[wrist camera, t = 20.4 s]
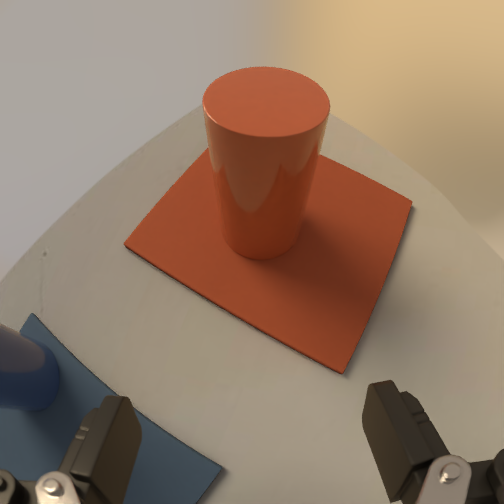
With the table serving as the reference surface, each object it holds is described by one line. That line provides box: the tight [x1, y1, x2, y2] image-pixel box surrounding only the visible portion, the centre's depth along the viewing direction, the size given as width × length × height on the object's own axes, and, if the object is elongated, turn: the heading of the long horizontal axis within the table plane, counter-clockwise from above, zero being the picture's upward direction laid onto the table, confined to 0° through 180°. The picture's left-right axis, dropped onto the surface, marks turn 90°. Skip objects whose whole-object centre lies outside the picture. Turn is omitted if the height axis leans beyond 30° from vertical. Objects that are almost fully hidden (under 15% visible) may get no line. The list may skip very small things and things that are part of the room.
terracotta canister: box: [202, 67, 330, 260], centre depth 16 cm, size 5×5×10 cm
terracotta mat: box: [124, 147, 412, 374], centre depth 21 cm, size 16×14×1 cm
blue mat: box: [0, 313, 222, 504], centre depth 13 cm, size 16×16×1 cm
